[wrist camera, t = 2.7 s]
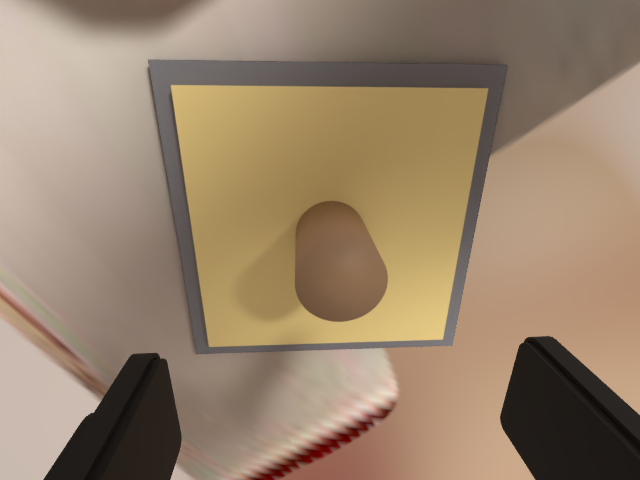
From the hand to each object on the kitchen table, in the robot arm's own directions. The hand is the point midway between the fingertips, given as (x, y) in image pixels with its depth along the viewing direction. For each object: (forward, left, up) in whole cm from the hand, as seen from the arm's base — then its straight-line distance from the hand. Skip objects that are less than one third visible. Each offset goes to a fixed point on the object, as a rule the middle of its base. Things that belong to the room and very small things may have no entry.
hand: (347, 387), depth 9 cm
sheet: (0, -1, -10) cm, 10 cm away
